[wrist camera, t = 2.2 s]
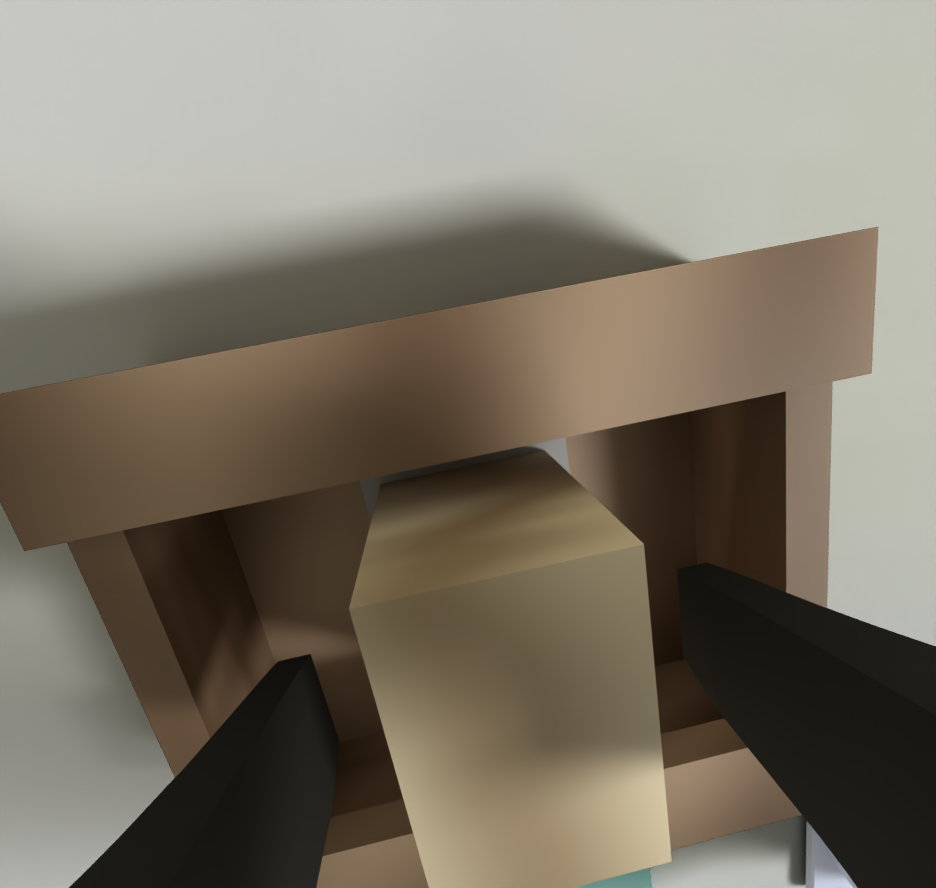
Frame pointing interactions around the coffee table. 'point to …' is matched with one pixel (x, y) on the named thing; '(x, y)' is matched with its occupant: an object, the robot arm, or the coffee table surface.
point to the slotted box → (438, 449)
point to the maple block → (514, 676)
